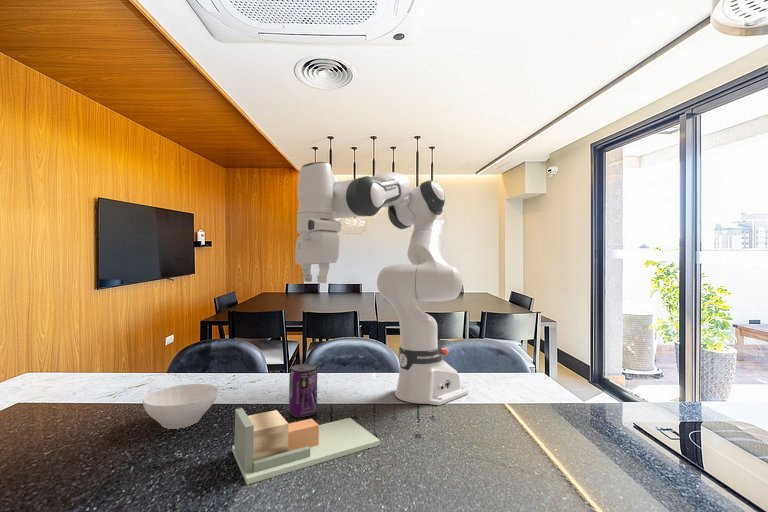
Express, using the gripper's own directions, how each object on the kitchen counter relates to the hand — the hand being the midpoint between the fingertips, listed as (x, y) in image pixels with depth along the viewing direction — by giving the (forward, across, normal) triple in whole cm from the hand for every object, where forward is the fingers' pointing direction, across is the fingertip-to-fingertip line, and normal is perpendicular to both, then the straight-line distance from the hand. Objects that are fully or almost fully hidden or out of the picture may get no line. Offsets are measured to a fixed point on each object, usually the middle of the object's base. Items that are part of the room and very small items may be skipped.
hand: (314, 282), depth 89 cm
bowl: (+34, -17, -27) cm, 47 cm away
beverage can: (+34, -7, 0) cm, 35 cm away
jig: (+34, +11, -6) cm, 36 cm away
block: (+33, +11, -14) cm, 38 cm away
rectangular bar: (+33, +11, -10) cm, 36 cm away
